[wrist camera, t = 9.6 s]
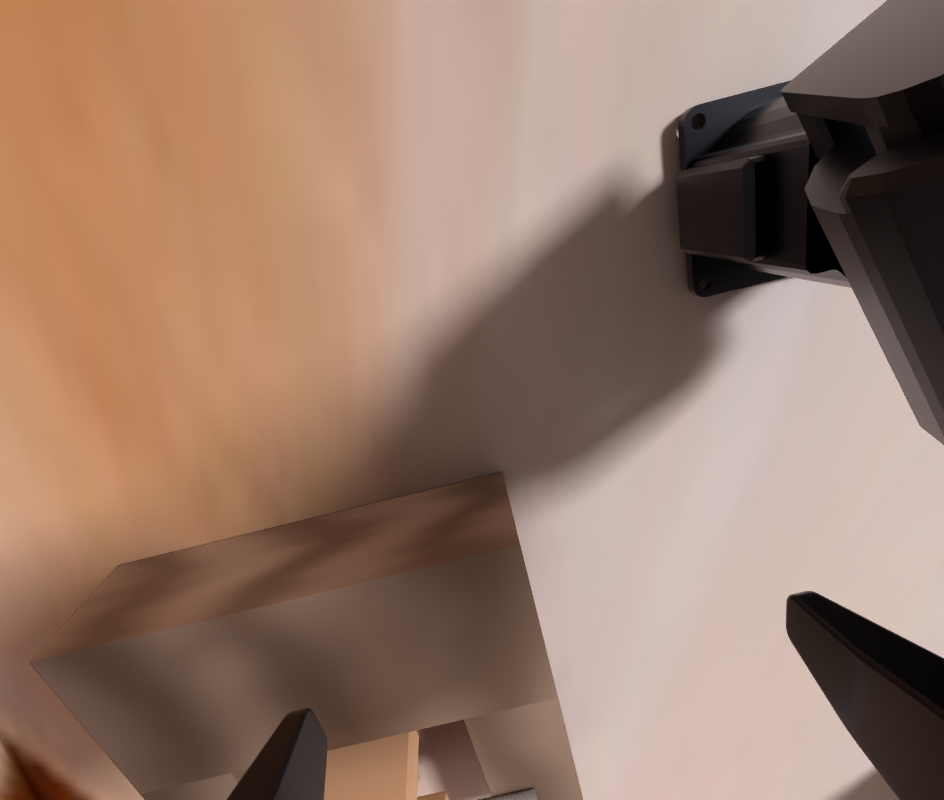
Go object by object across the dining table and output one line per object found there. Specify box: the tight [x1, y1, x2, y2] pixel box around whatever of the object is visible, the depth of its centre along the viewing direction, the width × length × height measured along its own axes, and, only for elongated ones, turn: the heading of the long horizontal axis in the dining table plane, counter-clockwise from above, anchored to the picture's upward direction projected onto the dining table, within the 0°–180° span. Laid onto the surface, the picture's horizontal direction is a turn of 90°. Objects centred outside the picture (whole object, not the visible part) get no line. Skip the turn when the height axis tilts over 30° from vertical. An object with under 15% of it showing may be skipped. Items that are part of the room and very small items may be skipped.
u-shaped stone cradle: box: [29, 472, 583, 800], centre depth 23 cm, size 18×20×5 cm
